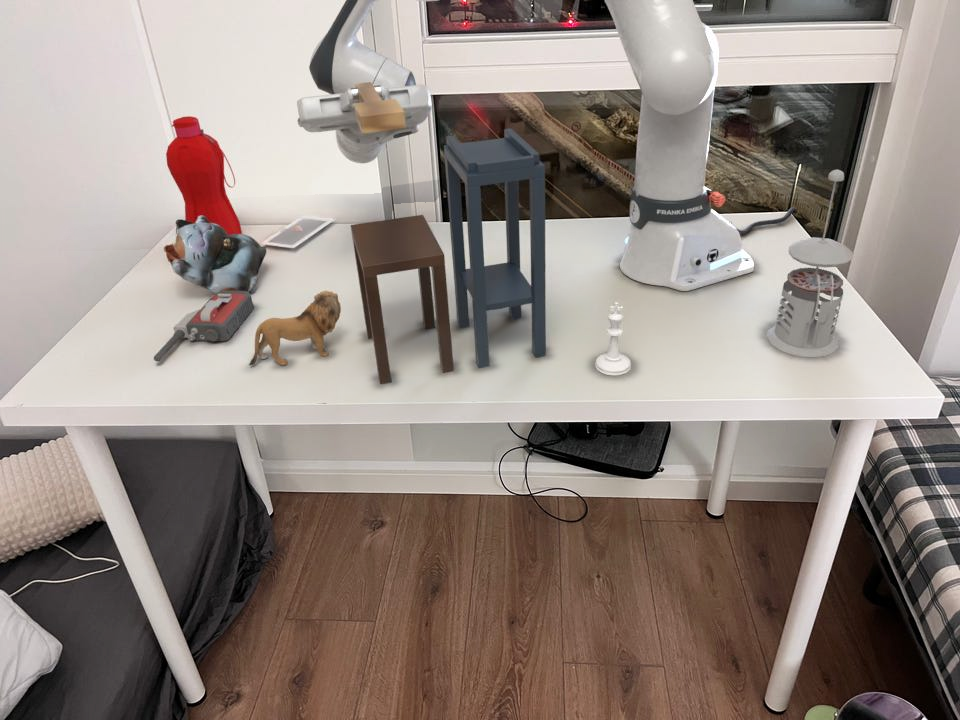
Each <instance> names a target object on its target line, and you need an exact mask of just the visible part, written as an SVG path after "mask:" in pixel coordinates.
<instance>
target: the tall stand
mask: <svg viewBox="0 0 960 720" xmlns="http://www.w3.org/2000/svg"><path fill="white" fill-rule="evenodd" d="M503 131H504V132H503V136H504V137H501V138H493V139H486V140H485V139H484V140H477V141H470V142H461V143H460V142H459V140H457V139H456V137H455V136H454V135H446V136H445V140H446V142H445V143H446V144H445V145H443V153H444V164H445V165H444V167H445V179H446V193H447V205H448V217H449V231H450V233H449V234H450V243H451V244H450V245H451V258H452V271H453V284H454V297H455V309H456V311H455V312H456V323H457V325H458V328H459V329H464V328H469V327H470V314H469V313H470V312H469V311H470V310H469V298H468V296H469V295H470V297H471V301H472V302H471V303H472V319H473V333H474V334H473V335H474V351H475V364H476V366H477V367H478V369H482V368H488V367H490V349H489V332H488V331H489V330H488V327H489V326H488V312H489V311H495V310H502V309H507V308H508V315H509V317H510V319H511V320H516V319H522V306H525V305H531V306H530V307H531V353H532V355H533V356H534V358H536V359H538V358H542V357H543V358H544V357H546V356H547V351H546V350H547V344H546V343H547V339H546V338H547V336H546V334H547V332H546V330H547V329H546V326H547V325H546V323H547V322H546V320H547V319H546V317H547V315H546V312H547V310H546V308H547V307H546V305H547V303H546V302H547V301H546V298H547V297H546V165H545V163H543V161H541V160H540V153H539V152H538V151H537V150H536V149H535V148H533V147H532V146H531V145H530V144H529V143H528V142H527V141H525V140H524V138H522V137H521V136H520V135H519V134H518V133H517V132H516V131H514V130H513V129H512V128H510V127H509V128H504V129H503ZM461 180H462V182H463V183H464V190H465V191H464V192H465V206H466V208H465V209H466V223H467V224H466V225H467V240H468V255H469V268H466V267H467V266H466V265H467V264H466V253H465V252H466V251H465V238H464V237H465V236H464V223H463V222H464V221H463V207H462V205H463V204H462V192H461ZM525 180H526V181H527V180H529V234H530V236H529V237H530V239H529V240H530V282H529V281H528V280H527V278H526V277H525V276H524V274H523V272H522V271H521V241H520V240H521V238H520V200H519V199H520V197H519V196H520V195H519V181H525ZM496 184H497V185H498V184H504V203H505V204H504V205H505V209H504V210H505V234H506V237H505V238H506V262H501V263H496V264H488V265H485V253H484V252H485V251H484V233H483V232H484V231H483V214H482V213H483V212H482V195H481V193H482V192H481V187H482V186H490V185H496ZM468 294H469V295H468Z"/></svg>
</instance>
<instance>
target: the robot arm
mask: <svg viewBox="0 0 960 720" xmlns="http://www.w3.org/2000/svg"><path fill="white" fill-rule="evenodd" d="M378 1H379V0H345V1H344V3H343V5H342V7H341V9H340V10H339V12H338V14H337V15H336V17H335V19H334V21H332V22H333V23H332V24H331V26H330V28H329V29H328V31H327V33H325V35H324V36H323V37H322V38H321V39H320V41H319V42H318V43H317V45H316V47H315V48H314V50H313V52H312V54H311V57H310V61H309V67H308V70H309V72H310V75H311V78H312V80H313V82H314V84H315V85H316V87H317V89H318V90H320V91H322V92H325V93H327V94H323V95H313V96H304V97H301V98H299V99H298V100H296V106H297V112H298V113H297V114H298V118H297V125H298V126H299V127H300V128H303V129H304V130H305V131H306V132H308V133H322V132H323V133H324V132H331V131H335V139H336V144H337V147H338V149H339V151H340V153H341V154H342V155H343V156H344V157H345V158H346V159H347V160H349V162H352V163H355V164H368V163H371V162H374V160H376V159H377V158H378V157H379V156H380V155H381V154H382V152H383V150H384V148H385V146H386V144H387V143H388V142H391V141H393V140H396V139H399V138H403V137H407V136H410V135H414V134H416V133H418V132H419V129H420V128H419V127H420V126H419V125H421V124H422V123H424V122H425V121H426V120H427V118H428V116H429V115H430V113H431V111H432V98H431V97H432V96H431V93H430V88H429V86H428V85H426V84H417V82H416V78H415V76H414V74H413V73H414V72H413V71H412V70H410V69H408V68H406V67H405V66H403V65H401V64H399V63H398V62H396V61H394V60H392V59H390V58H389V57H386V56H384V55H382V54H381V53H379V52H377V51H375V50H373V49H371V48H370V47H368V46H366V45H364V44H363V43H361V41H360V40H358V38H357V33H358V32H359V31H360V29H361V28H362V25H363V24H364V22H365V21H366V20H367V17H368V16H369V14H370V12H371V11H372V9H373V7H374V6H375V4H376V3H377V2H378ZM417 1H419V2H438V1H439V0H417ZM604 3H605V4H606V6H607V8H608V11H609V13H610V16H611V18H612V20H613V23H614V25H615V26H614V27H615V29H616V32H617V34H618V37H619V41H621V46H622V48H623V51H624V53H625V56H626V58H627V60H628V63H629V66H630V68H631V71H632V73H633V76H634V77H635V80H636V82H637V84H638V87H639V89H640V92H641V102H640V112H639V121H638V129H637V130H638V131H637V138H636V139H637V140H636V153H635V171H634V185H632V187H631V192H630V202H629V223H630V225H629V231H628V236H627V237H626V238H625V240H624V243H625V244H626V245H625V248H624V251H623V255H622V258H621V260H620V263H619V269H620V271H621V272H622V273H623V274H624V275H625V276H626V277H628V278H630V279H632V280H634V281H636V282H639V283H641V284H647V285H652V286H660V287H666V288H671V289H674V290H677V291H680V292H681V291H682V292H689V291H692V290H695V289H699V288H702V287H706V286H710V285H713V284H716V283H719V282H723V281H728V280H730V279H733V278H737V277H740V276H743V275H747V274H750V273H752V272H754V270H755V262H754V260H753V258H752V257H751V256H750V254H748V252H746V251H745V250H744V249H743V245H742V237H741V236H742V235H746V234H748V233H749V232H751V231H752V230H753V229H754V228H756V227H761V226H768V225H769V226H770V225H776V224H780V223H783V222H785V221H787V220H788V219H789V218H790V217H791V216H792V214H798V210H797V209H796V208H795V207H790V208H789V209H788V210H787V211H786V213H785V215H783V216H782V217H779V218H775V219H765V220H759V221H754V222H753V223H751V224H749V225H748V226H747V227H746V228H745V229H739V228H738V227H737V226H735V225H734V224H733V222H732V221H730V220H727V218H725V217H723V216H722V214H720V213H719V212H717V211H716V210H714V209H713V208H712V205H711V204H713V206H715V207H717V208H720V207H722V206H723V205H724V204H725V201H726V196H725V195H724V194H722V193H720V192H719V191H712V190H711V189H710V188H708V187H707V186H705V182H706V174H707V173H706V171H707V163H708V155H709V154H708V153H709V146H710V135H711V125H712V115H713V108H714V107H713V105H714V96H715V88H716V87H715V86H716V81H717V77H718V65H719V46H718V41H717V38H716V36H715V34H714V32H713V31H712V29H711V28H710V27H709V26H708V25H707V24H706V23H705V22H702V20H701V18H700V15H699V13H698V10H697V7H696V5H695V1H694V0H604ZM367 82H371V83H372V85H373V86H374V88H375V90H376V91H377V93H378V94H379V96H380V98H381V99H382V100H389V99H396V101H397V102H398V103H399V105H400V106H401V108H402V109H403V111H404V116H405V126H406V128H405V129H397V130H389V131H380V132H372V133H364V134H362V132H361V129H360V127H359V125H358V123H357V121H356V116H355V108H354V103H360V102H359V94H358V88H357V87H356V88H355V84H358V83H367Z"/></svg>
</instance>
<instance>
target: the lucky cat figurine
mask: <svg viewBox="0 0 960 720" xmlns="http://www.w3.org/2000/svg"><path fill="white" fill-rule="evenodd" d="M175 225H176V226H175V238H174V239H175V240H174V241H173V242H172V243H170V244H166V245H165V246H164V247H163V251H164V253H166V254H165V255H166V259H167V261H168V262H169V263H170V266H171V268H172V271H173V273H174V274H176V275H178V276H179V277H181V279H183V280H185V281H188V282H190V283H192V284H193V285H197V286H199V287H201V288H203V289H206V290H208V291H209V292H212V293H214V294H216V293H218V292H220V291H222V290H226V291H247V292H251V291H252V289H253V288H254V287H255V286H256V284H257V282H258V278H259V271H260V268H261V266H262V264H263V262H264V259H265V258H266V256H267V255H266V254H267V248H266V247H265V246H262V245H261V244H260V243H259V242H257V240H255V239H254V238H253V237H252V236H250V235H247V234H243V233H242V234H232V235H228V234H227V232H226V231H225V229H224V228H222V227H221V226H220V225H218V224H214V223H210V222H209V221H208V219H207V218H206V217H205V216H202V215H201V216H198V219H197V221H196V222H195V223H193V222H188V221H186V220H185V219H182V218H181V219H180V218H179V219H176V221H175Z"/></svg>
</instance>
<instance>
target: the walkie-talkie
mask: <svg viewBox="0 0 960 720" xmlns="http://www.w3.org/2000/svg"><path fill="white" fill-rule="evenodd" d="M210 297H211V298H209V299H208V301H207V302H206V303H205V304H204V305H203V306H202V307H201V308H200V309H197V310H194V311H191V312H188V313H187V314H186V315H184V317H182V319H181V320H180V321H179V322H178V323H176V324H175V325H174V326H173V327H172V328H173V332H174V333H173V335H172V336H171V337H170V339H169V340H168V341H167V342H166V343H165V344H164V345H163V346H162V347H161V348H160V349H159V350H158V352H157V353H156V354H155V355H154V356H153V360H154V361H155V362H161V361H162V360H163V358H164V357H165V356H166V355H167V354H168V353H169V352H170V350H172V348H173V347H175V345H176V344H177V343H178V342H179V341H181V340H182V339H188V340H189V341H190V342H191V341H198V342H227V341H228V340H230V338H231V337H232V336H233V335H234V333H235V332H236V331H237V330H238V329H239V328H240V325H242V323H243V322H244V320H246V318H247V317H248V316H249V315H250V313H251V312H252V311H253V310H254V303H253V299H252V295H251V294H250V291H248V292H247V291H226V290H222V291H220V292H218V293H216V294H215V293H214V294H213V295H212V296H210Z"/></svg>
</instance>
